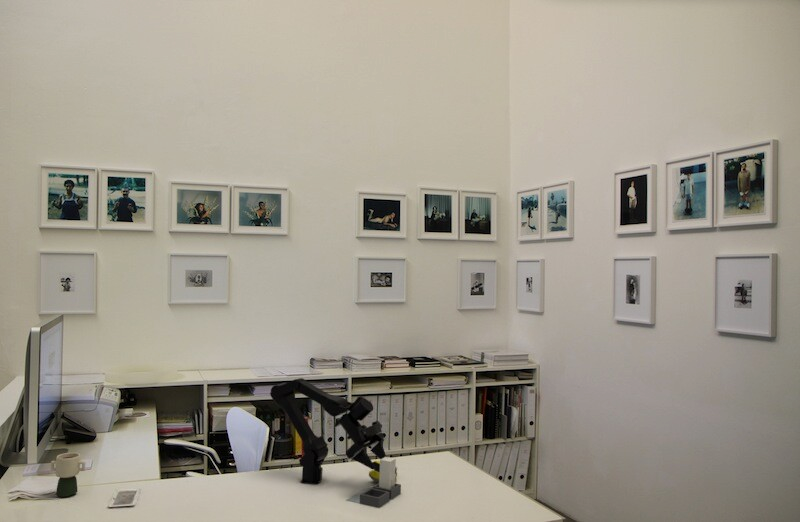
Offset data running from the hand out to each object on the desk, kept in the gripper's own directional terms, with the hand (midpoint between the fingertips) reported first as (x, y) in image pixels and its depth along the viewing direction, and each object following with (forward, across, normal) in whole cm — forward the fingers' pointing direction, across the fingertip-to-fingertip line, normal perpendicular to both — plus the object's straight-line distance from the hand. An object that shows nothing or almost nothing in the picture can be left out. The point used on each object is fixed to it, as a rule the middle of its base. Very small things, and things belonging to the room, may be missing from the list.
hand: (380, 465), depth 217 cm
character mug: (-55, -55, +69) cm, 104 cm away
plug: (+9, 0, +5) cm, 10 cm away
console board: (+8, -4, +7) cm, 11 cm away
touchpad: (-41, -48, +56) cm, 84 cm away
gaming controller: (+3, +15, +12) cm, 19 cm away
